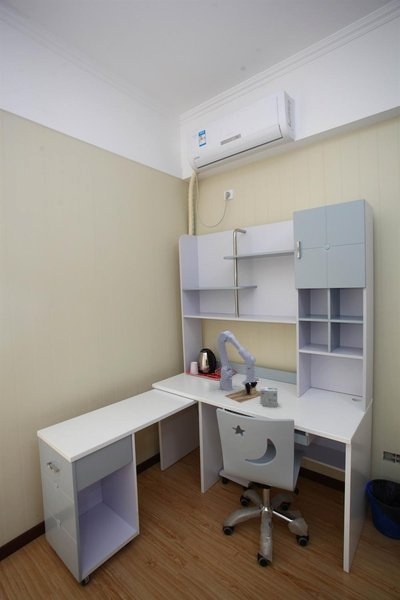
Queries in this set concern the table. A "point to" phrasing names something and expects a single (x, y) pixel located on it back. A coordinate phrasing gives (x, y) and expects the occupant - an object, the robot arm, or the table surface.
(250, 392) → the block
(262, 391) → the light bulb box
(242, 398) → the board
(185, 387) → the table surface
